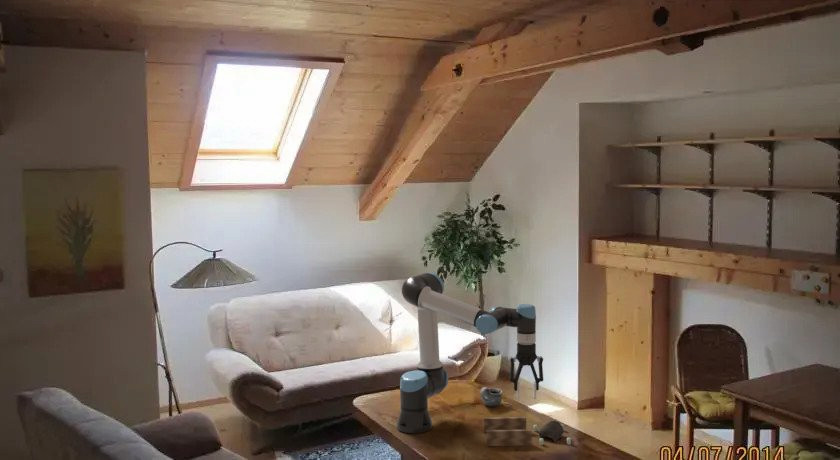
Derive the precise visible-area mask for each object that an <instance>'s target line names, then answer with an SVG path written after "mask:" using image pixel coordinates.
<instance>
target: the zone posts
mask: <svg viewBox="0 0 840 460" xmlns="http://www.w3.org/2000/svg"><path fill="white" fill-rule="evenodd" d="M560 424H561V425H562V427H563V428H564V424H562V423H560ZM533 432H536V433H537V432H538V425H537V424H533ZM538 441H539V445H540V446H544V437H540V438H539V440H538ZM539 445H538V446H539ZM566 445H568V446H571V445H572V438H571V437H567V438H566Z"/></svg>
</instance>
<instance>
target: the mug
mask: <svg viewBox="0 0 840 460" xmlns="http://www.w3.org/2000/svg"><path fill="white" fill-rule="evenodd" d="M502 394H503V390H502V389H500V388H497V387H487V386H484V387H482V388H481V389H480V391H479V395H480V398H481V401H482V403H483V404H484V405H485V406H487V407H490V408H493V407H498V406H499V405H500V404H501V402H502Z"/></svg>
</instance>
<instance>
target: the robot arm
mask: <svg viewBox="0 0 840 460" xmlns="http://www.w3.org/2000/svg"><path fill="white" fill-rule="evenodd" d="M444 289H445V284H444V281H443V279H442V278H441V277H440V276H439V275H438V274H436V272H435V273H434V272H423V273H421V274H417V275H413V276H411V277H408V278H407V279H406V280H405V281H404V282H403V283H402V286H401V294H402V298H403V299H404V300H405V301H406V302H407V303H408V304H410V305H412V306H414V307H416V310H417V323H418V325H417V326H418V344H419V362H418V363H417V364H416V369H415V370H411V371H410V370H409V371H406V372H404V373H403V374H402V375H400V376H401V377H400V380H399V381H400V383H399V391H400V395H399V396H400V399H399V400H400V411H399V414H398V418H397V421H396V429H397V431H400V432H401V433H406V434H423V433H426V432H428V431H431V430H432V428H433V420H432V418H431V416H430V412H429V408H428V407H429V405H428V401H429V398H431V397H433V396H435V395H438V394H440V393H442V392H443V391H444V390H445V389H446V388H447V386H448V384H449V375H448V371H447V370H446V368H444V363H443V362H442V361H441V360H440V346H439V342H440V341H439V326H438V325H439V323H438V322H439V320H438V314H442V315H444V316H447V317H449V318H452V319H454V320H457V321H459V322H462V323H464V324H466V325H469V326H471V327H474V328H476V330H477V331H478V332H479V333H480V334H482V335H488V334H492V333H494V332H495V331H498V330H500V329H502V328H505V327H508V328H509V327H511V328H516V342H517V343H516V354H515V355H514V356H510V357H509V362H510V363H509V364H510V367H509V382H511V383H513V389H514V391H515V392H516V399H517V400H520V382H519V378H520V375H521V373H522V370H523V367H524V366H527V367H530V369H531V373H532V376H533V378H534V380H535V381H534V380H533V381H532V383H533V385H532V394H533V395H532V398H533V399H535V400H537V391H539V388H540V382H543V381H544V371H543V368H544V367H543V362H544V358H543V356H539V355H537V352H536V351H537V349H536V347H537V344H536V342H537V337H536V335H537V334H536V325H537V323H536V322H537V315H536V307H535V305H533V304H530V303H529V304H528V303H525V304H524V303H523V304H518V305H517V307H516V308H511V307H504V306H493V307H491V308H490V310H489V311H487V310H484V309H481V308H479V307H476V306H473V305H471V304H469V303H466V302H463V301H460V300H458V299H456V298H453V297H451V296H447V295H445V294H443V293H444V291H445V290H444ZM516 360H517V362H519V363H518V366H517V369H516V371H515V362H516ZM535 361H537V363H538V364H537V365H538V374H537V372H536V367H535V365H534V363H535ZM515 372H516V373H515ZM514 373H515V374H514ZM538 376H539V377H538Z"/></svg>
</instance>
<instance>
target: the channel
mask: <svg viewBox="0 0 840 460" xmlns="http://www.w3.org/2000/svg"><path fill="white" fill-rule="evenodd" d="M482 425H483V426H482V432H483V433H484V434H486V447H504V446H507V447H508V446H509V447H510V446H511V447H514V446H515V447H516V446H517V447H518V446H532V445H533V443H532V442H533V433H532V432H533V431H532V429H527V416H513V417H512V416H511V417H509V416H505V417H504V416H503V417H502V416H501V417H499V416H498V417H497V416H496V417H495V416H494V417H489V416H488V417H482Z"/></svg>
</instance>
